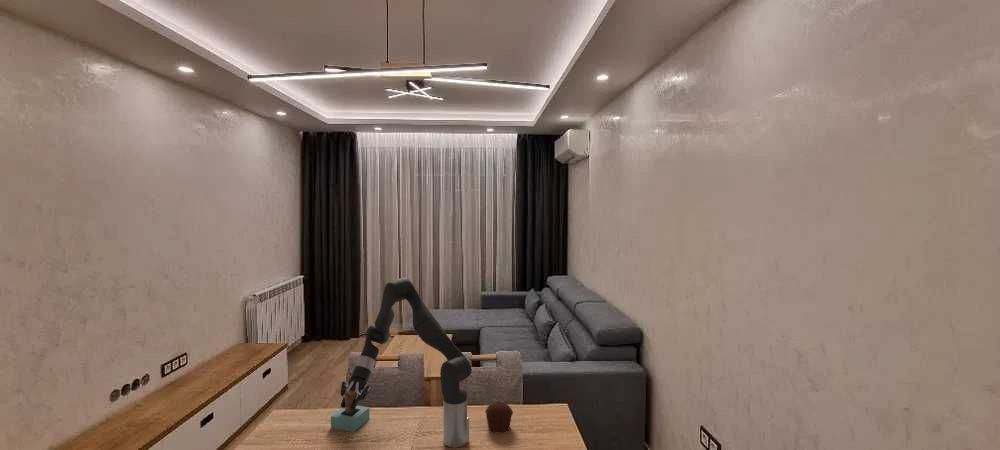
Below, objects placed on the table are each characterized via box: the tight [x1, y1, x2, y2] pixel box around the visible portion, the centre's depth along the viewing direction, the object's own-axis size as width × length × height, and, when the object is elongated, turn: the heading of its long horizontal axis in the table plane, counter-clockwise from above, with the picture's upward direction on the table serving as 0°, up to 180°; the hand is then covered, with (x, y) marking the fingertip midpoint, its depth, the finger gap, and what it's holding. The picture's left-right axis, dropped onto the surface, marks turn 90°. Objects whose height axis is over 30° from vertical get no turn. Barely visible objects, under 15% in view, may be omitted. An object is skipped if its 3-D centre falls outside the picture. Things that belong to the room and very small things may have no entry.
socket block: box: [330, 405, 370, 433], centre depth 186 cm, size 11×11×5 cm
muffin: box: [484, 401, 514, 433], centre depth 183 cm, size 12×11×10 cm
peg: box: [345, 390, 355, 416], centre depth 185 cm, size 4×4×10 cm
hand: (347, 408), depth 183 cm, fingers closed on peg, 4 cm apart
